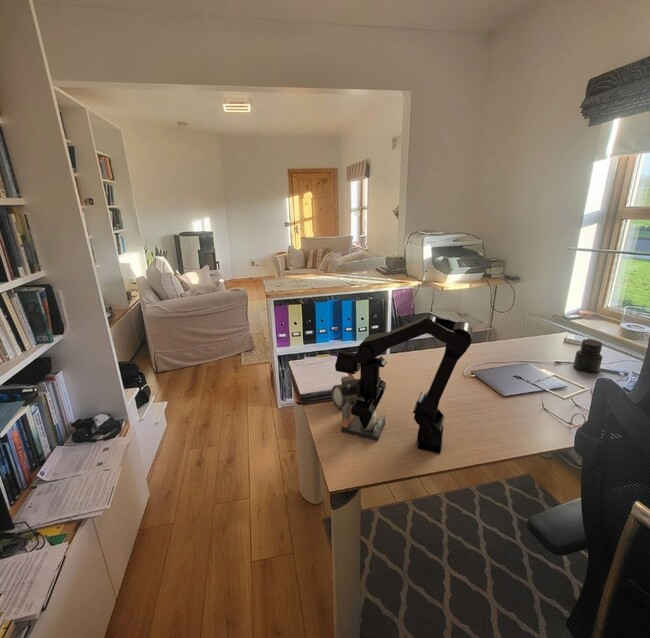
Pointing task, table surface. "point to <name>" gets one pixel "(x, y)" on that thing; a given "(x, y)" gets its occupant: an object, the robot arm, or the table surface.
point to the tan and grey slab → (346, 415)
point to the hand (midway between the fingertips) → (368, 419)
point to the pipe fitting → (338, 397)
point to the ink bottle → (589, 356)
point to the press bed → (359, 431)
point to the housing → (372, 422)
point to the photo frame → (566, 380)
